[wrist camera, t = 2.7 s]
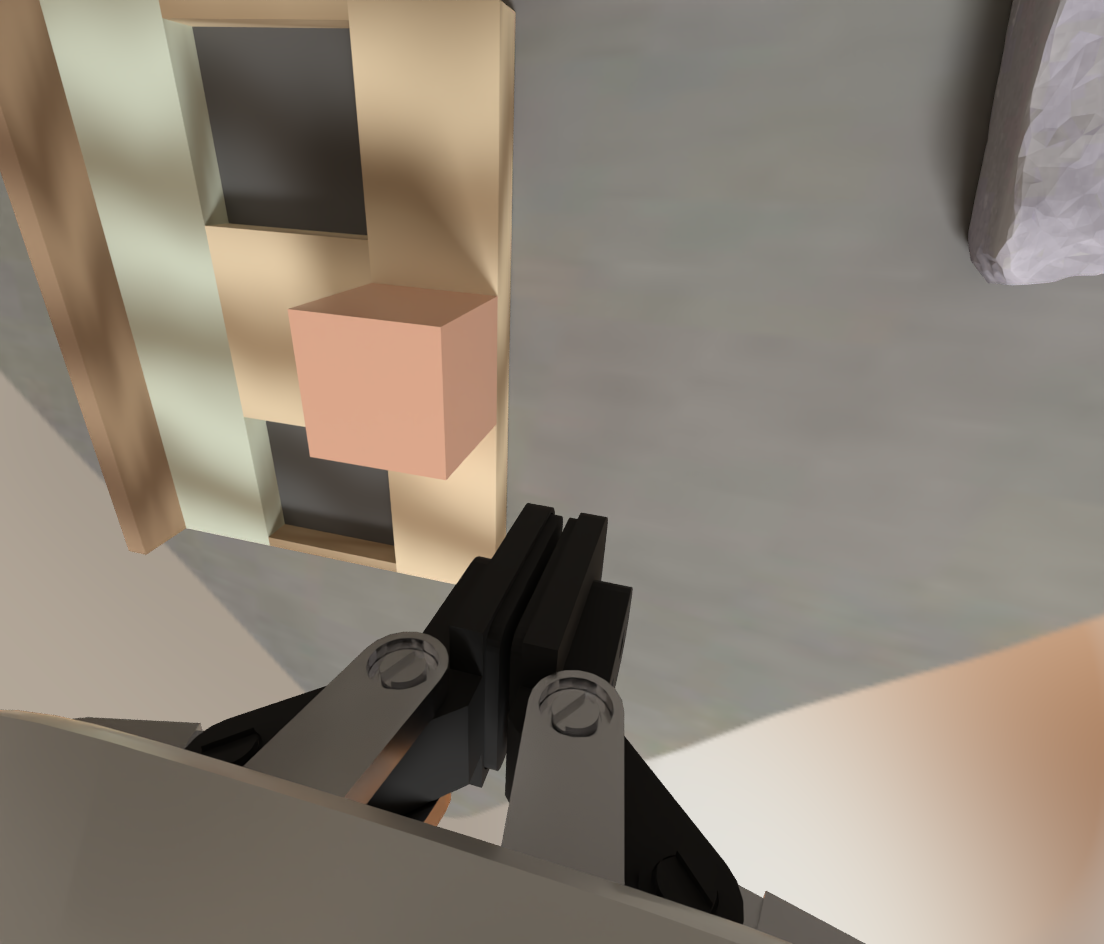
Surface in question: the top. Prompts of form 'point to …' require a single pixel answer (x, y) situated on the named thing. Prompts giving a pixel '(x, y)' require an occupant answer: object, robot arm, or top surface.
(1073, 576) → the top surface
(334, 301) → the terracotta block
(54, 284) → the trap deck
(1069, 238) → the stone block
